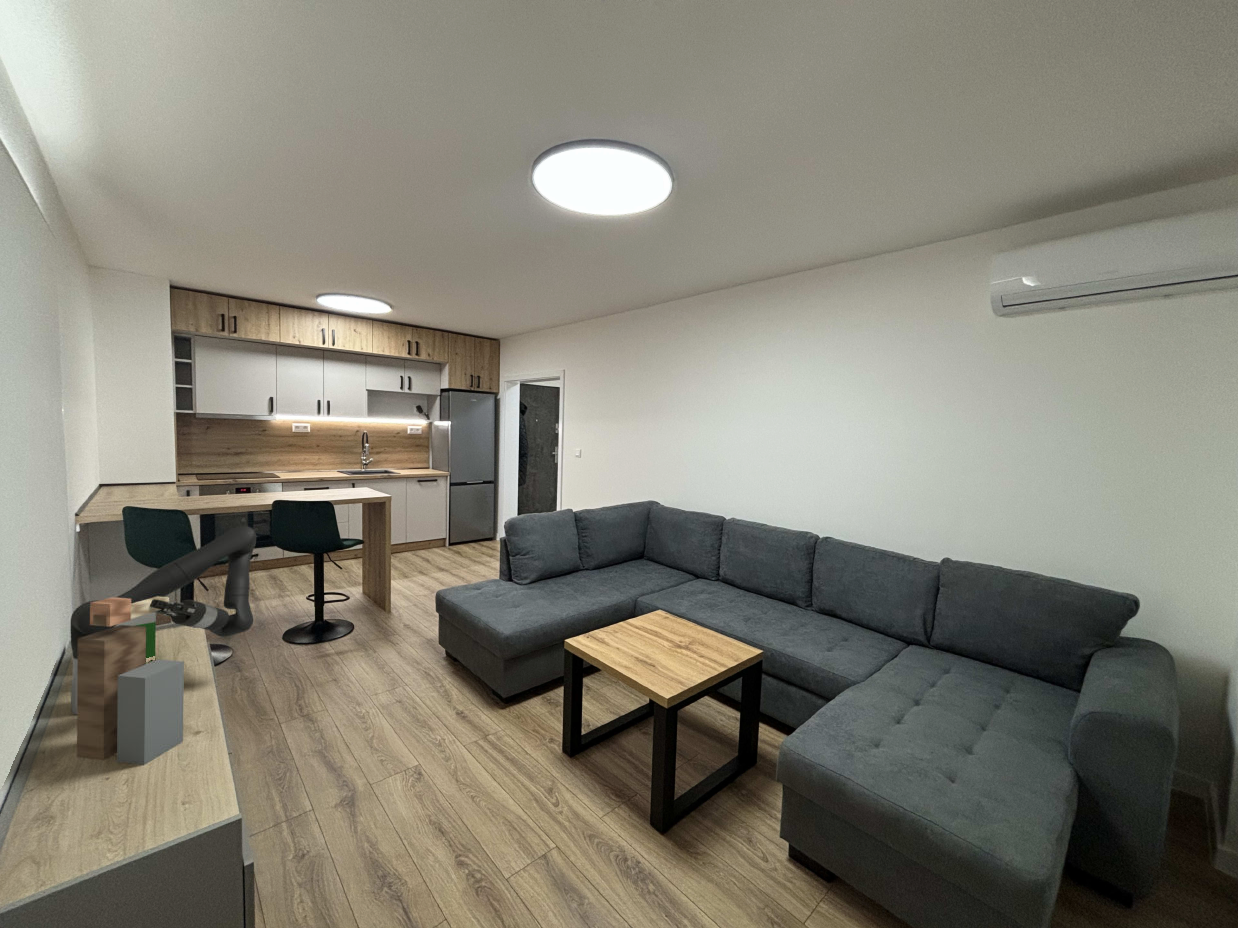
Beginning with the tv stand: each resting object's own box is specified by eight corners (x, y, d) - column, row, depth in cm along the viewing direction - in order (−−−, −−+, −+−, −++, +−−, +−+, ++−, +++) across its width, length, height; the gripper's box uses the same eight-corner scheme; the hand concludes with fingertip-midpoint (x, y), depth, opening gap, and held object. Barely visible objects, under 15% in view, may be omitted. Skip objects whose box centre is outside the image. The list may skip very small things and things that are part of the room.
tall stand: (119, 734, 136) (120, 624, 135) (144, 737, 135) (146, 626, 135) (76, 757, 126) (77, 638, 125) (103, 760, 125) (104, 640, 125)
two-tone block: (153, 605, 143) (154, 586, 143) (171, 607, 142) (172, 587, 142) (89, 624, 127) (90, 602, 127) (109, 626, 127) (110, 604, 126)
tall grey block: (157, 738, 135) (158, 659, 134) (182, 741, 134) (183, 661, 134) (117, 761, 125) (117, 675, 124) (144, 764, 124) (145, 678, 124)
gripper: (181, 601, 155) (130, 587, 140) (220, 604, 154) (174, 590, 139) (168, 624, 152) (115, 613, 137) (209, 628, 150) (160, 617, 135)
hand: (145, 602), depth 138 cm, fingers closed on two-tone block, 4 cm apart
